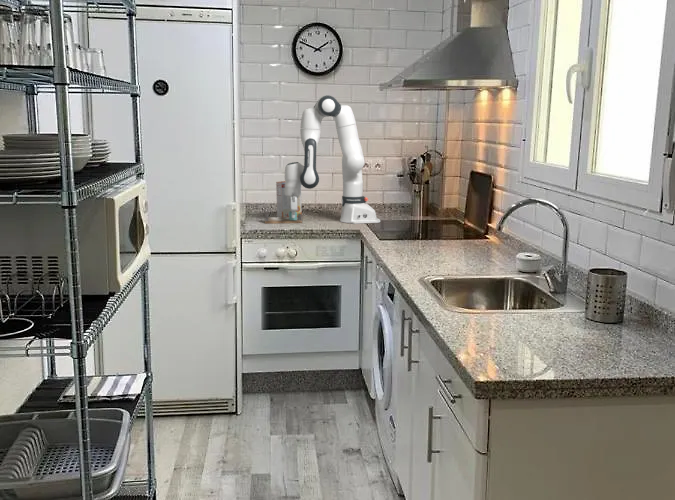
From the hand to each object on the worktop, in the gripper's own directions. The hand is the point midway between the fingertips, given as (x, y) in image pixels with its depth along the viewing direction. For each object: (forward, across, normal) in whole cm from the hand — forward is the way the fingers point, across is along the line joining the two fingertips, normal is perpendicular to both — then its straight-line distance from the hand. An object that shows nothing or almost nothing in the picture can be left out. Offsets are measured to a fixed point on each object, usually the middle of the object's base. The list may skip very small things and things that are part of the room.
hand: (292, 217), depth 386 cm
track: (+3, 0, +5) cm, 6 cm away
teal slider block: (+1, 0, 0) cm, 1 cm away
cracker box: (+3, +19, +1) cm, 19 cm away
